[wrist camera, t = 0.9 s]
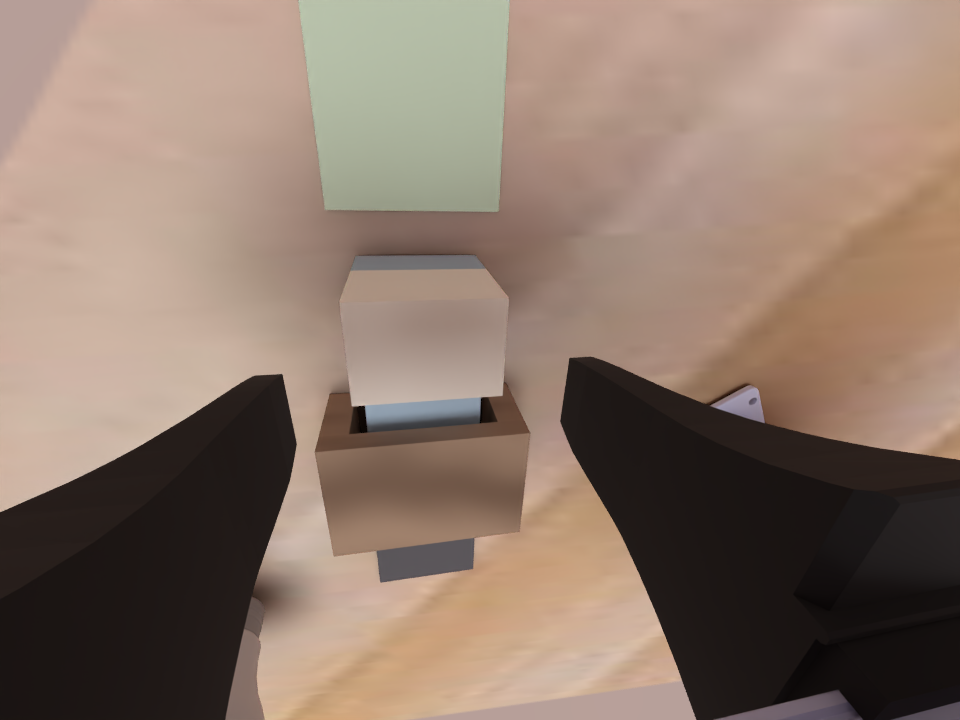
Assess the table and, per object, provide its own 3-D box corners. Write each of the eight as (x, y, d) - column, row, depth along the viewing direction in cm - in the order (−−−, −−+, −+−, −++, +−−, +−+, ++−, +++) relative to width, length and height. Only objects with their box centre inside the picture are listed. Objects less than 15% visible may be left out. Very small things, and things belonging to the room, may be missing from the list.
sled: (468, 492, 24) (489, 588, 19) (380, 502, 23) (376, 605, 18) (474, 254, 18) (509, 298, 13) (355, 255, 17) (338, 302, 12)
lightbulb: (197, 557, 23) (55, 851, 13) (310, 569, 25) (259, 832, 15) (181, 626, 25) (49, 922, 15) (287, 632, 27) (229, 897, 18)
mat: (497, 211, 18) (498, 211, 17) (325, 208, 16) (324, 209, 16) (507, 1, 15) (509, -1, 14) (296, -21, 13) (294, -25, 13)
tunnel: (499, 471, 24) (519, 531, 20) (344, 487, 23) (333, 556, 19) (505, 382, 22) (530, 433, 18) (329, 394, 20) (314, 452, 16)
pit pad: (472, 565, 28) (473, 569, 27) (380, 578, 26) (380, 582, 26) (475, 498, 25) (475, 502, 25) (372, 510, 24) (372, 514, 24)
